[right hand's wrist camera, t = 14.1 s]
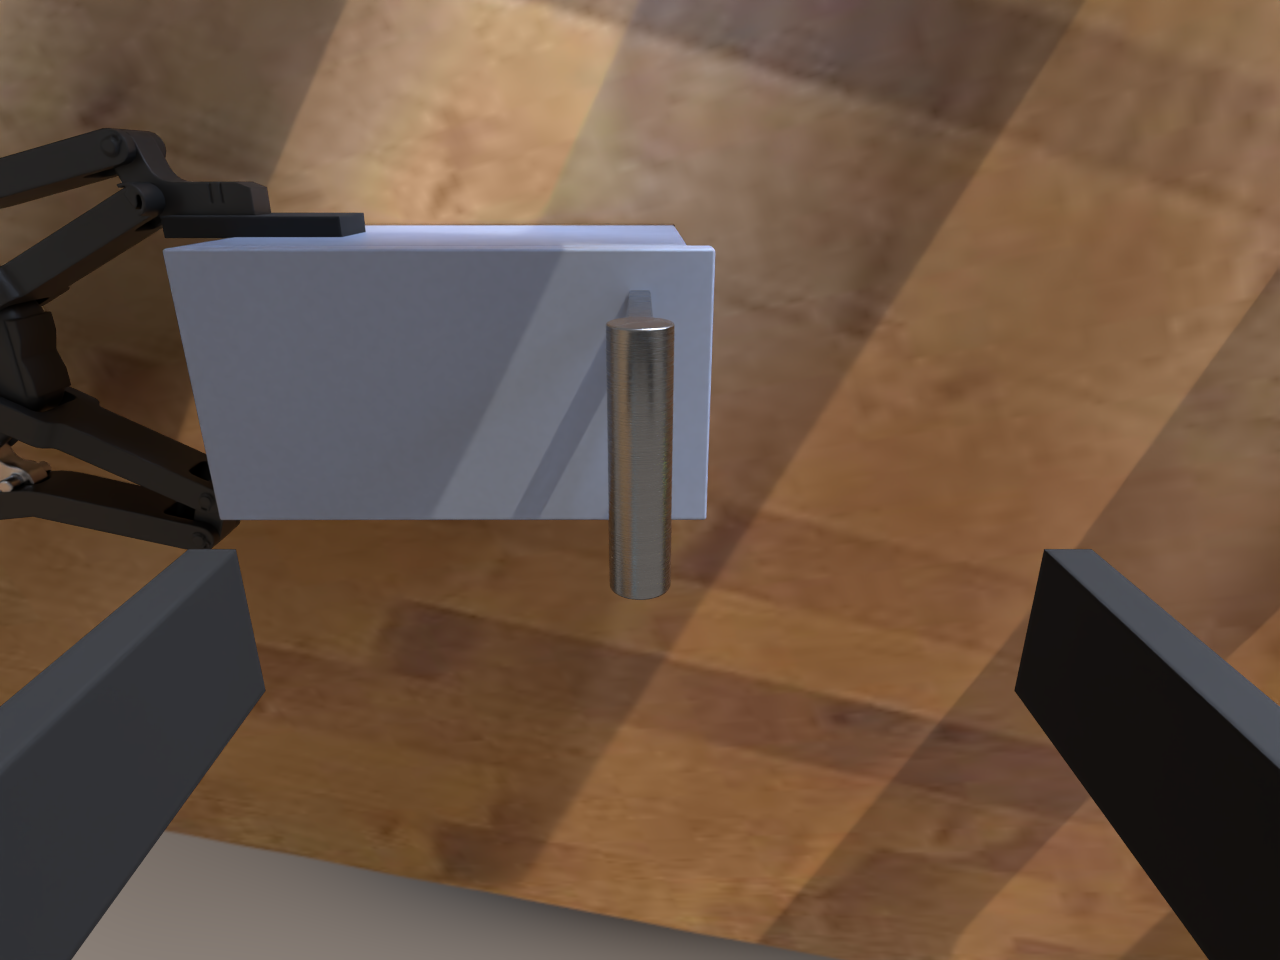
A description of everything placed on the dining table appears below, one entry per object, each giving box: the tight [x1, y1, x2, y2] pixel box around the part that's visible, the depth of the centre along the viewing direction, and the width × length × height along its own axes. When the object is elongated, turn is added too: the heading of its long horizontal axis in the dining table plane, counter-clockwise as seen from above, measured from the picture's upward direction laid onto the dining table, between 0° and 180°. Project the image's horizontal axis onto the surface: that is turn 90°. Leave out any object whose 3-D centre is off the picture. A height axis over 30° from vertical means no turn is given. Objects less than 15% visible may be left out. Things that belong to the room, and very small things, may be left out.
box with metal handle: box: [163, 246, 715, 600], centre depth 23 cm, size 17×9×9 cm, turn 90°
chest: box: [186, 224, 687, 246], centre depth 32 cm, size 16×9×11 cm, turn 90°
